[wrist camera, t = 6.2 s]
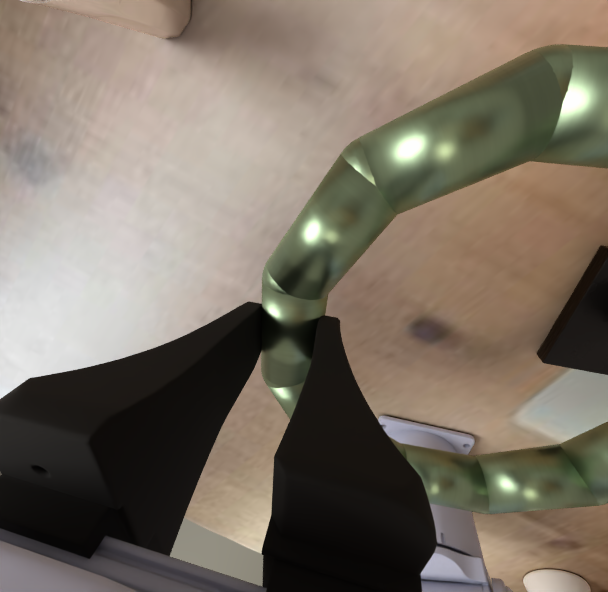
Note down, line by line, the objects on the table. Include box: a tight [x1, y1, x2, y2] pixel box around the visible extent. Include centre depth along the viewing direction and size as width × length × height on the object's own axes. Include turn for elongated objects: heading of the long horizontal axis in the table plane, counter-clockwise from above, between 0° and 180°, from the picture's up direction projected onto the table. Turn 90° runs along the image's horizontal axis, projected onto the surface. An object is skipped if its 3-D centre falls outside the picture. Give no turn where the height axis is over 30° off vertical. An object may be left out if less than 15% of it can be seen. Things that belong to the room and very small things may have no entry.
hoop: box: [261, 44, 608, 514], centre depth 11 cm, size 18×18×2 cm
